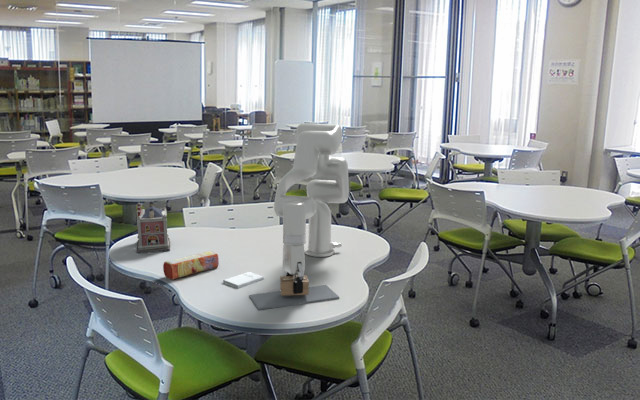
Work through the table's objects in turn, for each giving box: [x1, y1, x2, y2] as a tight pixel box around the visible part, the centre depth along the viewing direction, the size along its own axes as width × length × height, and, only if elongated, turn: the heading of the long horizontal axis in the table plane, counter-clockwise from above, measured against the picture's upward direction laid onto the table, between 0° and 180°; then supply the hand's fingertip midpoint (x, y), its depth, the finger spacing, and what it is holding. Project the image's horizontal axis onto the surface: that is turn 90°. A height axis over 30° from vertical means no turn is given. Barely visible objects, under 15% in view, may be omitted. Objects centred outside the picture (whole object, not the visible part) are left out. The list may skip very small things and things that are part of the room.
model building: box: [135, 201, 171, 254], centre depth 240 cm, size 19×14×20 cm
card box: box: [279, 275, 310, 296], centre depth 186 cm, size 6×9×5 cm, turn 98°
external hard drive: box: [222, 271, 265, 289], centre depth 202 cm, size 2×8×12 cm
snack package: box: [162, 250, 220, 280], centre depth 210 cm, size 21×7×7 cm, turn 136°
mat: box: [249, 284, 340, 311], centre depth 187 cm, size 28×12×1 cm, turn 111°
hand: (294, 288), depth 186 cm, fingers closed on card box, 6 cm apart
